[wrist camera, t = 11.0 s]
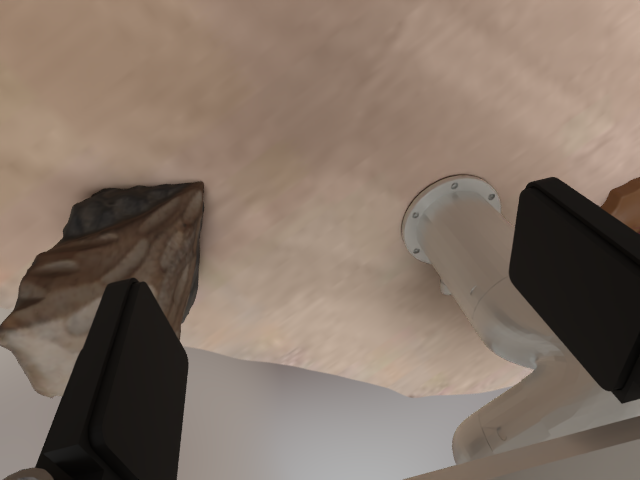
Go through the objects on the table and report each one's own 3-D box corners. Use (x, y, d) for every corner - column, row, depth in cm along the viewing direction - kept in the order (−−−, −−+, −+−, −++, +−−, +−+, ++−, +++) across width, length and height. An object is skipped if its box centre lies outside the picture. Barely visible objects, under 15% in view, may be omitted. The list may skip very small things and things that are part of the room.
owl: (198, 275, 49) (183, 430, 33) (82, 266, 46) (1, 435, 30) (209, 182, 43) (195, 319, 27) (74, 163, 39) (-36, 308, 23)
